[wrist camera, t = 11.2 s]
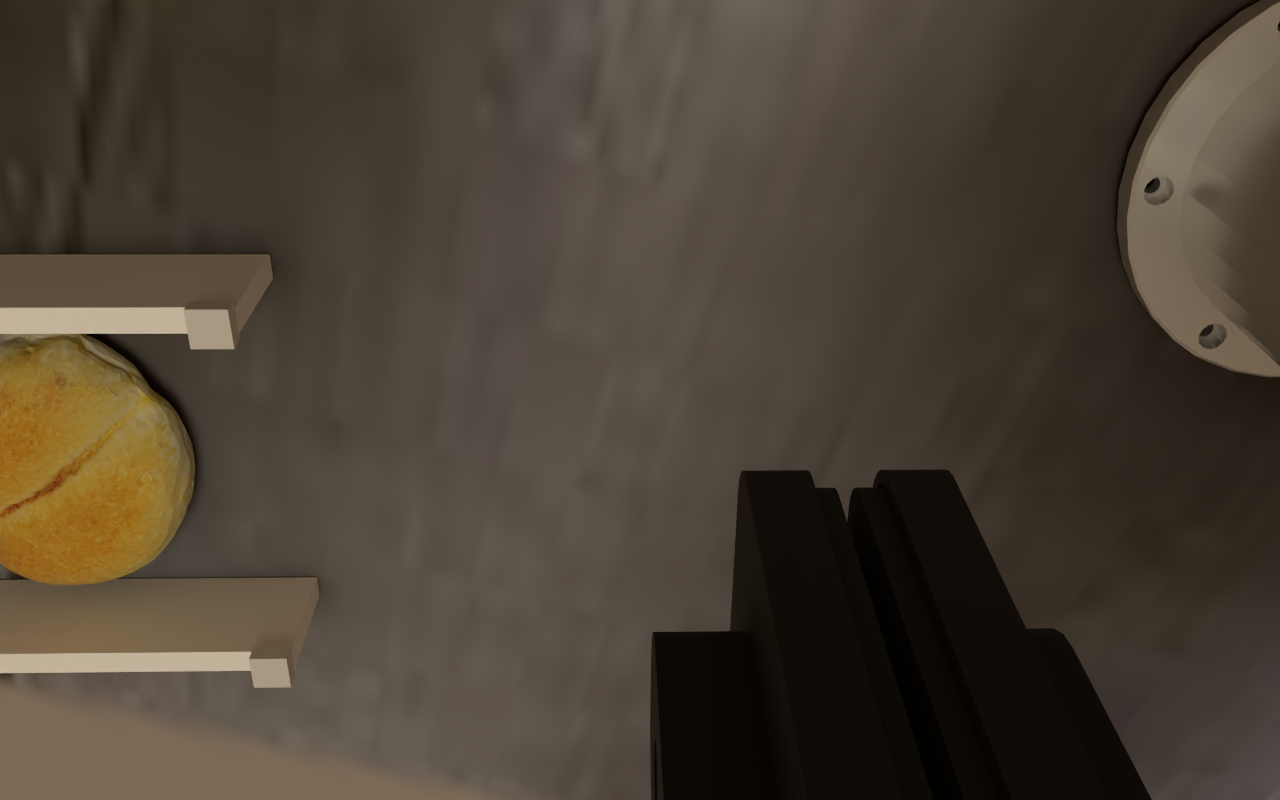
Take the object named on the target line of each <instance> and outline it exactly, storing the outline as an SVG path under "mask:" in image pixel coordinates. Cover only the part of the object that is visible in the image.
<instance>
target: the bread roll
mask: <svg viewBox="0 0 1280 800" xmlns="http://www.w3.org/2000/svg"><path fill="white" fill-rule="evenodd" d="M194 478H195V460H194V453H193V448H192V443H191V441H190V438H189V435H188V433H187V431H186V429H185V427H184V425H183V423H182V421H181V419H180V417H179V415H178V414H177V412H176V411H175V410H174V408H173V407H172V406H171V405H170V403H169V402H168V401H167V400H166V399H164V398H163V397H162V396H160V395H159V394H157V393H156V392H155V391H153V390H152V389H151V388H150V387H149V385H148V384H147V382H146V381H145V379H144V378H143V376H142V375H141V373H140V372H139V371H138V370H137V368H136V367H135V366H134V365H133V364H132V363H131V362H130V361H128V360H127V359H126V358H125V357H123V356H122V355H121V354H119V353H117V352H116V351H115V350H113V349H111V348H110V347H108V346H107V345H105V344H104V343H102V342H101V341H99V340H97V339H95V338H93V337H90V336H88V335H86V334H0V564H1V565H3V566H4V567H5V568H7V569H9V570H10V571H12V572H15V573H17V574H19V575H21V576H23V577H26V578H28V579H30V580H33V581H37V582H41V583H46V584H52V585H83V584H94V583H101V582H105V581H109V580H113V579H116V578H119V577H122V576H124V575H127V574H130V573H132V572H134V571H136V570H138V569H139V568H141V567H143V566H145V565H146V564H148V563H150V562H151V561H152V560H154V559H155V558H157V557H158V555H159V554H160V553H161V552H162V551H163V550H164V548H165V547H166V546H167V545H168V544H169V543H170V541H171V540H172V538H173V537H174V535H175V533H176V531H177V529H178V528H179V526H180V524H181V523H182V521H183V519H184V516H185V514H186V511H187V507H188V505H189V503H190V501H191V499H192V494H193V488H194Z"/></svg>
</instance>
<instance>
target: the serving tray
mask: <svg viewBox="0 0 1280 800" xmlns="http://www.w3.org/2000/svg"><path fill="white" fill-rule="evenodd" d="M272 280H273V273H272V266H271V259H270V254H3V255H0V334H172V333H188V337H189V342H190V348H191V349H235V347H236V345H237V344H238V342H239V341H240V337H239V332H240V331H241V329H242V328H243V326H244V324H245V323H246V321H247V320H248V318H249V316H250V315H251V313H252V312H253V310H254V308H255V307H256V305H257V304H258V302H259V300H260V299H261V297H262V296H263V294H264V292H265V291H266V289H267V288H268V286H269V284H270V283H271V281H272ZM319 596H320V594H319V587H318V580H317V577H292V578H167V579H113V580H109V581H105V582H101V583H94V584H83V585H52V584H46V583H41V582H37V581H33V580H0V673H59V672H159V671H251V673H252V679H253V684H254V688H264V687H291V686H292V683H293V680H294V677H295V667H296V664H297V661H298V658H299V655H300V652H301V649H302V646H303V643H304V640H305V637H306V634H307V632H308V629H309V626H310V623H311V620H312V617H313V614H314V611H315V608H316V605H317V602H318V599H319Z"/></svg>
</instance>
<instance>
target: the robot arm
mask: <svg viewBox="0 0 1280 800" xmlns="http://www.w3.org/2000/svg"><path fill="white" fill-rule="evenodd" d="M1279 22H1280V0H1260V1H1258V2H1257V3H1255V4H1253V5H1251V6H1250V7H1248V8H1246V9H1244V10H1243V11H1241V12H1239V13H1238V14H1237V15H1236V16H1234V17H1233V18H1232V19H1231V20H1229V21H1228V22H1227V23H1226V24H1224V25H1223V26H1222V27H1221V28H1219V29H1218V30H1217V31H1216V32H1214V33H1213V34H1212V35H1211V36H1209V37H1208V38H1207V39H1206V40H1204V41H1203V42H1202V43H1201V44H1200V45H1199V46H1198V47H1197V49H1196V50H1195V51H1194V52H1193V53H1192V54H1191V55H1190V56H1189V57H1188V58H1187V59H1186V61H1185V62H1184V63H1183V64H1182V65H1181V66H1180V67H1179V68H1178V69H1177V70H1176V71H1175V73H1174V74H1173V75H1172V76H1171V77H1170V79H1169V80H1168V82H1167V83H1166V85H1165V86H1164V88H1163V89H1162V91H1161V92H1160V94H1159V95H1158V97H1157V98H1156V100H1155V101H1154V103H1153V104H1152V106H1151V107H1150V109H1149V110H1148V112H1147V113H1146V115H1145V117H1144V120H1143V122H1142V124H1141V126H1140V128H1139V131H1138V133H1137V135H1136V137H1135V139H1134V142H1133V144H1132V146H1131V148H1130V150H1129V153H1128V157H1127V161H1126V165H1125V169H1124V173H1123V177H1122V180H1121V184H1120V188H1119V197H1118V214H1117V233H1118V240H1119V246H1120V253H1121V259H1122V264H1123V266H1124V269H1125V271H1126V274H1127V276H1128V279H1129V281H1130V284H1131V286H1132V289H1133V291H1134V293H1135V295H1136V296H1137V298H1138V299H1139V300H1140V302H1141V303H1142V305H1143V306H1144V307H1145V309H1146V310H1147V312H1148V313H1149V314H1150V316H1151V317H1152V319H1153V320H1154V321H1155V322H1156V323H1157V324H1158V325H1159V326H1160V327H1162V328H1163V329H1164V330H1165V331H1166V332H1167V333H1168V335H1169V336H1170V337H1171V338H1172V339H1173V340H1174V341H1175V342H1177V343H1178V344H1180V345H1181V346H1182V347H1184V348H1185V349H1187V350H1188V351H1189V352H1191V353H1192V354H1193V355H1195V356H1197V357H1199V358H1200V359H1203V360H1205V361H1208V362H1210V363H1213V364H1215V365H1218V366H1220V367H1223V368H1225V369H1228V370H1230V371H1234V372H1240V373H1245V374H1251V375H1257V376H1262V377H1280V26H1279V27H1278V24H1279ZM1152 179H1154V182H1153V184H1152V185H1151V186H1150V187H1149V188H1145V187H1146V185H1147V183H1149V182H1150V181H1151V180H1152ZM650 745H651V796H652V800H1151V798H1150V796H1149V794H1148V792H1147V790H1146V788H1145V786H1144V784H1143V782H1142V780H1141V778H1140V776H1139V774H1138V773H1137V771H1136V769H1135V767H1134V765H1133V763H1132V761H1131V759H1130V757H1129V755H1128V753H1127V751H1126V749H1125V748H1124V746H1123V744H1122V742H1121V740H1120V738H1119V736H1118V734H1117V732H1116V730H1115V728H1114V726H1113V724H1112V722H1111V721H1110V719H1109V717H1108V715H1107V713H1106V711H1105V709H1104V707H1103V705H1102V703H1101V701H1100V699H1099V697H1098V696H1097V694H1096V692H1095V690H1094V688H1093V686H1092V684H1091V682H1090V680H1089V678H1088V676H1087V674H1086V672H1085V670H1084V669H1083V667H1082V665H1081V663H1080V661H1079V659H1078V657H1077V655H1076V653H1075V651H1074V649H1073V647H1072V646H1071V645H1070V643H1069V642H1068V640H1067V639H1066V637H1065V636H1064V634H1062V633H1061V632H1059V631H1057V630H1055V629H1054V628H1045V629H1026V627H1025V625H1024V623H1023V621H1022V619H1021V617H1020V615H1019V613H1018V611H1017V609H1016V606H1015V604H1014V602H1013V600H1012V598H1011V596H1010V594H1009V592H1008V590H1007V588H1006V585H1005V583H1004V581H1003V579H1002V577H1001V575H1000V573H999V571H998V569H997V567H996V565H995V562H994V560H993V558H992V556H991V554H990V552H989V550H988V548H987V546H986V544H985V542H984V539H983V537H982V535H981V533H980V531H979V529H978V527H977V525H976V523H975V521H974V518H973V516H972V514H971V512H970V510H969V508H968V506H967V504H966V502H965V500H964V498H963V495H962V493H961V491H960V489H959V487H958V485H957V483H956V481H955V479H954V477H953V475H952V474H951V473H950V471H948V470H880V471H879V472H878V473H877V474H876V477H875V480H874V484H873V488H854V489H853V491H852V494H851V497H850V504H849V512H848V521H847V520H846V517H845V514H844V511H843V508H842V504H841V501H840V498H839V495H838V492H837V490H836V489H835V488H815V485H814V482H813V478H812V476H811V473H810V472H809V471H807V470H790V471H742V472H741V474H740V480H739V489H738V504H737V522H736V539H735V557H734V574H733V592H732V609H731V627H730V631H720V632H653V635H652V654H651V711H650Z"/></svg>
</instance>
